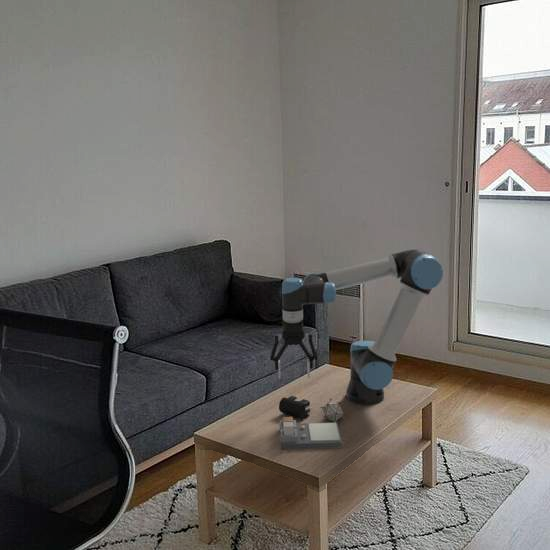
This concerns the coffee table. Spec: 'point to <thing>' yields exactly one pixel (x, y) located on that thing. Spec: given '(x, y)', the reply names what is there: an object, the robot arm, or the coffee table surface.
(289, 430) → the off-white switch
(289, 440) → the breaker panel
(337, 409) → the game die
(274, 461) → the coffee table surface
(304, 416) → the end cap
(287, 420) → the terracotta switch
